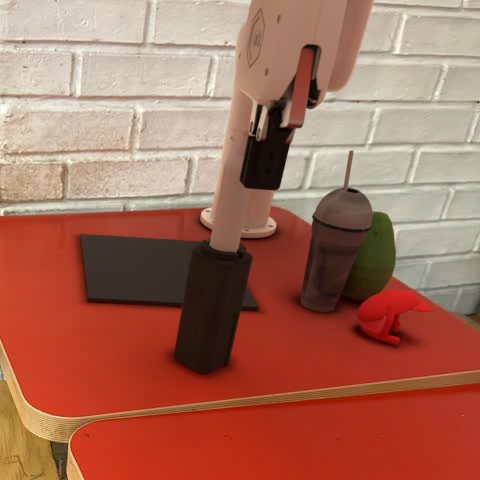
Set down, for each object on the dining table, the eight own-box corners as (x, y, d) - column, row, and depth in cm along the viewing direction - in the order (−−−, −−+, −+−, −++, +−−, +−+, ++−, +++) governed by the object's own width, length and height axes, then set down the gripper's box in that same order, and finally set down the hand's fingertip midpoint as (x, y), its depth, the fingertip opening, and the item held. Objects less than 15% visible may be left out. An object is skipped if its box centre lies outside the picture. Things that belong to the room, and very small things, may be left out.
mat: (80, 237, 105) (80, 233, 105) (221, 246, 108) (221, 242, 107) (87, 302, 87) (88, 297, 87) (257, 311, 89) (258, 306, 89)
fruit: (335, 308, 92) (362, 221, 85) (313, 283, 98) (337, 200, 92) (391, 311, 93) (422, 225, 86) (367, 285, 100) (393, 204, 93)
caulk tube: (203, 376, 74) (252, 136, 61) (168, 356, 77) (208, 123, 64) (233, 363, 77) (286, 131, 64) (199, 344, 80) (243, 119, 67)
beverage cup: (347, 320, 89) (398, 164, 78) (290, 311, 90) (333, 155, 79) (342, 297, 95) (388, 149, 84) (288, 288, 96) (328, 140, 85)
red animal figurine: (360, 344, 84) (376, 300, 81) (345, 321, 89) (359, 278, 86) (425, 350, 84) (443, 305, 81) (406, 326, 89) (422, 284, 86)
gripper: (238, -70, 56) (199, 160, 66) (295, -72, 43) (236, 212, 53) (327, -60, 57) (276, 166, 67) (408, -59, 44) (330, 219, 54)
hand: (258, 186), depth 60 cm, fingers closed
